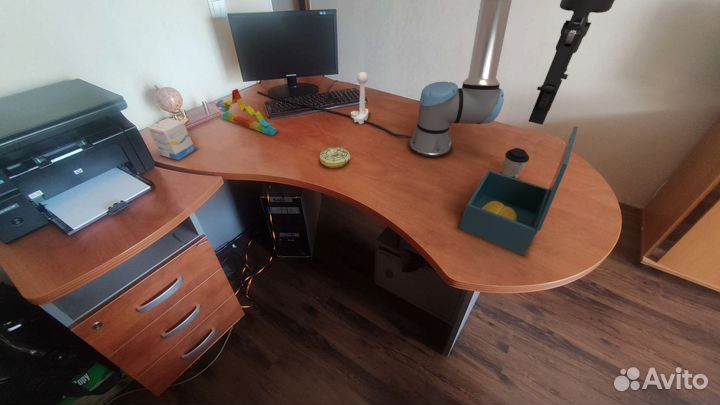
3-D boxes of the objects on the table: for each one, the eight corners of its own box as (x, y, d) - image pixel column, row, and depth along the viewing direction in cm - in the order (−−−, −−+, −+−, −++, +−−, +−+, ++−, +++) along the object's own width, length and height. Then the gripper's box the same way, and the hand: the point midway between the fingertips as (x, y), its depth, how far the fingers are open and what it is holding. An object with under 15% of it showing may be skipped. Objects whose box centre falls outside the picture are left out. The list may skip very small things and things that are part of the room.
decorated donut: (356, 160, 106) (355, 151, 104) (334, 173, 100) (333, 164, 98) (335, 150, 111) (335, 141, 109) (314, 162, 106) (313, 153, 103)
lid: (562, 163, 57) (567, 164, 56) (574, 126, 68) (578, 126, 68) (536, 229, 67) (540, 230, 67) (549, 187, 79) (553, 188, 78)
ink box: (196, 149, 113) (184, 121, 105) (177, 160, 107) (163, 131, 99) (180, 145, 116) (167, 116, 108) (161, 155, 110) (146, 126, 102)
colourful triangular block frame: (277, 132, 123) (269, 96, 113) (271, 135, 121) (263, 99, 111) (228, 115, 135) (218, 82, 125) (223, 118, 133) (211, 84, 123)
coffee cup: (517, 187, 94) (529, 160, 87) (494, 180, 97) (504, 154, 90) (521, 176, 98) (532, 150, 92) (499, 170, 101) (509, 144, 94)
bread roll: (505, 233, 78) (510, 223, 75) (475, 216, 83) (479, 205, 80) (520, 219, 82) (525, 208, 79) (491, 203, 87) (495, 192, 84)
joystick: (363, 124, 128) (363, 76, 114) (347, 122, 129) (345, 75, 116) (370, 113, 136) (371, 68, 122) (354, 111, 137) (353, 66, 124)
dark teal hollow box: (459, 228, 80) (466, 204, 75) (480, 193, 92) (488, 169, 86) (523, 255, 73) (537, 231, 68) (537, 213, 85) (550, 189, 79)
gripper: (622, -12, 40) (550, 139, 55) (623, -23, 52) (565, 103, 67) (560, -15, 43) (509, 129, 58) (575, -25, 55) (529, 96, 70)
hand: (539, 115), depth 63 cm, fingers open, 7 cm apart
